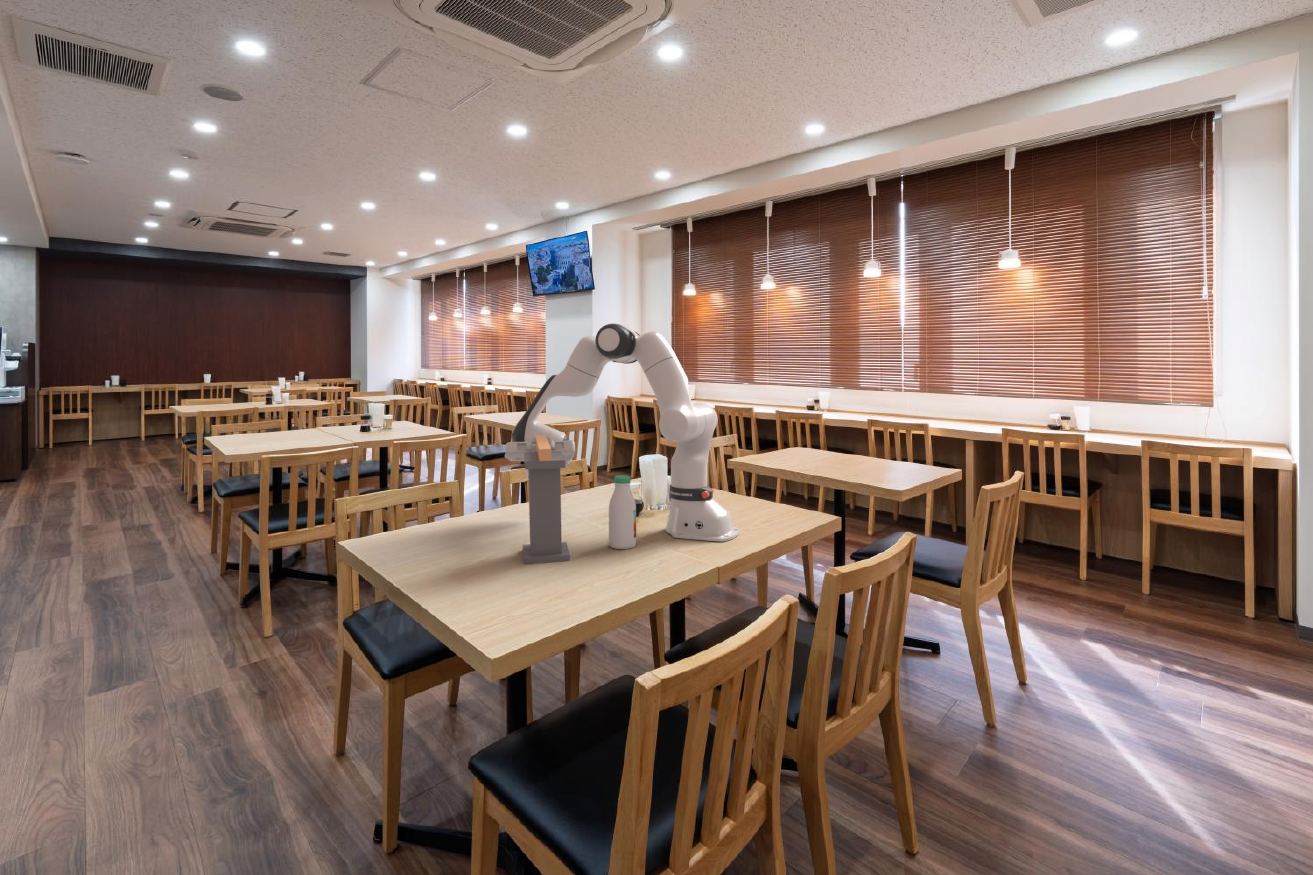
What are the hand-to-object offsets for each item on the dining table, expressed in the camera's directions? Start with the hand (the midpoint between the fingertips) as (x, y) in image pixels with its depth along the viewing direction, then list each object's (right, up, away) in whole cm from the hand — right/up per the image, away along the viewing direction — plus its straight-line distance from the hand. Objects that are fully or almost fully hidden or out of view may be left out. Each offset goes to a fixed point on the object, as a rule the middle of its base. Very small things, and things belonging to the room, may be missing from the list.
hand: (541, 440), depth 182 cm
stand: (+3, -31, -11) cm, 33 cm away
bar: (+2, -3, -9) cm, 10 cm away
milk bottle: (+23, -30, -2) cm, 38 cm away
